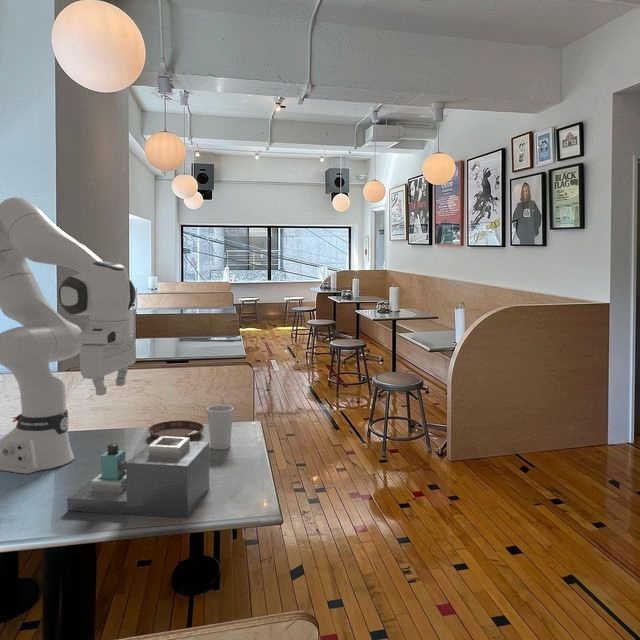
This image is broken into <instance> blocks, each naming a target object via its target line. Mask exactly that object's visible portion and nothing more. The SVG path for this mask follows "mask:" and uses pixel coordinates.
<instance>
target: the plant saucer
mask: <svg viewBox="0 0 640 640" xmlns="http://www.w3.org/2000/svg"><path fill="white" fill-rule="evenodd" d="M204 429H205V426H204V424H203V423H200V422H199V421H198V422H197V421H193V420H170V421H169V420H168V421H167V420H166V421H163V422H157V423H155V424H153V425H150V427H148V429H147V431H148V433H149V435H150V436H151V437H152V438H153V439H154V440H157V439H158V438H159V437H160V436H169V437H190V441H192V440H191V439H193V440H195V439H197V438H198V437H199V436H200V435H201V433H202V432H203V430H204ZM194 430H196V431H198V432H197V433H194V434H190V435H188V434H189V433H191V432H192V431H194ZM196 437H197V438H196ZM194 438H195V439H194Z"/></svg>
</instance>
